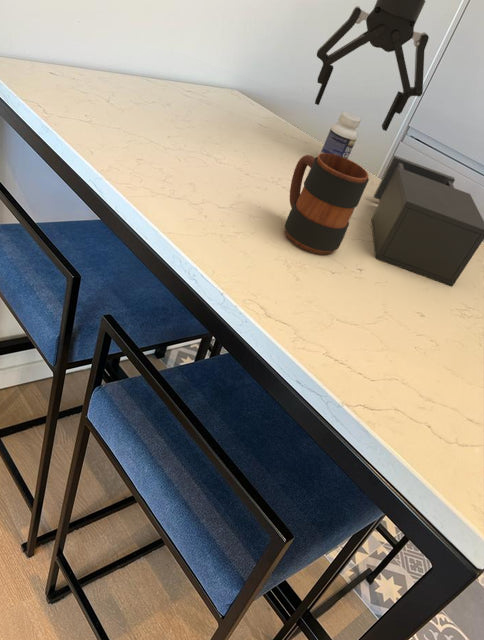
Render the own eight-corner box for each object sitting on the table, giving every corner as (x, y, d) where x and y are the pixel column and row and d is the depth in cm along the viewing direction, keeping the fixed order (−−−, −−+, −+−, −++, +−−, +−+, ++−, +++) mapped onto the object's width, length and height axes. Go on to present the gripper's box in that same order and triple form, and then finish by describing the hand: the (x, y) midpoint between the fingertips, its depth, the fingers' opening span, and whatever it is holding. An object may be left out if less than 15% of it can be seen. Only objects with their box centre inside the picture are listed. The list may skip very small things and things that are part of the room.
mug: (298, 212, 91) (328, 141, 84) (348, 254, 84) (385, 181, 77) (257, 214, 86) (285, 138, 78) (307, 258, 79) (342, 180, 72)
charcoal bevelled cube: (371, 219, 98) (397, 167, 92) (439, 244, 98) (470, 193, 92) (375, 258, 86) (406, 201, 80) (452, 286, 87) (489, 231, 81)
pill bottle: (340, 173, 111) (362, 124, 105) (315, 163, 112) (335, 113, 106) (344, 166, 115) (366, 118, 110) (320, 156, 116) (340, 108, 110)
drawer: (372, 186, 109) (391, 146, 104) (427, 206, 109) (449, 168, 104) (377, 225, 94) (400, 181, 89) (441, 249, 95) (468, 206, 90)
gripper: (471, 13, 98) (409, 133, 111) (336, -41, 97) (290, 87, 110) (479, 19, 92) (413, 144, 105) (336, -38, 91) (287, 96, 104)
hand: (350, 115), depth 108 cm, fingers open, 13 cm apart
